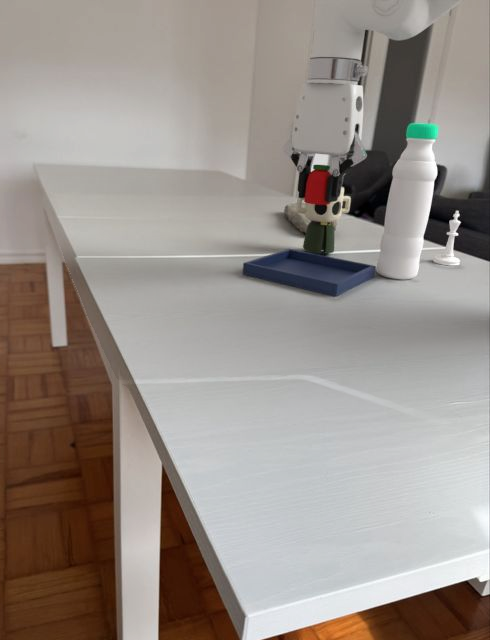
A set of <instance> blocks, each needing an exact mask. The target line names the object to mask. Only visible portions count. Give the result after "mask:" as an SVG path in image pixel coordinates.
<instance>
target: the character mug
mask: <svg viewBox="0 0 490 640" xmlns="http://www.w3.org/2000/svg"><path fill="white" fill-rule="evenodd" d="M304 199H305V198H299V197H298V196H297V199H296V203H297V208H296V210H297V212H299V213H304V214H305V217H306V218H307V219H309V220H311V222H310V223H309V224H308V227H307V231H306V233H305V235H304V239H303V244H302V248H303V250H305V252H308V253H313V254H322V252H323V253H324V254H331V253H334V252H335V231H334V226H333V224H332V222H334V221H339V220H340V218H341V216H342V214H348V213H349V212H350V209H351V202H352V198H351V196H349V195H345V187H344V186H341V193H340V196H339V197H338V199H337V201H334V202H330V204H328V205H317V204H309V203H306V202H304V203H305V208H302V207H301V206H302V203H303V201H304ZM344 202H345V205H344V207H343V203H344Z"/></svg>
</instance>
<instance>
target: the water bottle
mask: <svg viewBox="0 0 490 640" xmlns="http://www.w3.org/2000/svg"><path fill="white" fill-rule="evenodd" d="M438 134H439V126H438V124H435V123H421V122H411V123H409V124H408V125H407V128H406V131H405V137H406V138H405V141H406V142H407V145H406V147H405V148H404V150H403V152H402V153H401V154H400V157H399V158H398V160H397V161H396V163H395V164H394V165H393V168H392V173H391V174H392V180H391V184H390V188H389V192H388V197H387V203H386V209H385V214H384V215H385V216H384V226H383V233H382V235H381V239H380V245H379V247H380V248H379V249H380V250H379V254H378V258H377V262H376V269H375V271H376V272H377V273H378V275H380V276H382V277H384V278H388V279H393V280H401V281H405V280H411V279H414V278H416V277H417V276H418V273H419V268H420V261H421V260H420V259H421V258H420V257H421V254H422V251H423V247H424V236H425V233H426V229H427V226H428V221H429V217H430V212H431V207H432V202H433V195H434V188H435V180H436V179H437V176H438V166H437V162H436V161H435V160H436V157H435V153H434V152H433V145H434V143H435V142H436V139H437V138H438V136H439V135H438Z"/></svg>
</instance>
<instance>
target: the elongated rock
mask: <svg viewBox="0 0 490 640" xmlns="http://www.w3.org/2000/svg"><path fill="white" fill-rule="evenodd" d="M305 203H306V202H302V206H301V207H302V208H305ZM296 208H297V202H294V203H289V204H286V205H285V206H284V209H283V213H284V215H285V216H286V218H287V219H288V222H290V223H291V224H292V225H293V227H295V228H296V229H297V230H299V231H300V233H302V234H306V231H307V227H308V224H309V223H310V222H311V220H309V219H307V218H306V217H305V214H304V213H299V212H297V210H296ZM337 221H338V220H337ZM337 221H334V222H332V224H333V226H334V232H336V229H337V225H338V223H337Z"/></svg>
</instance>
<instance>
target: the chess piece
mask: <svg viewBox="0 0 490 640" xmlns="http://www.w3.org/2000/svg"><path fill="white" fill-rule="evenodd" d="M459 212H460V211H459V210H455V213H453V216H452V217H453V219H450V220H449V231H447V232H446V235H447V236H448V239H447V242H446V245H445V247H444V251H443V252H441V254H440V255H436V256H434V257H433V260H432V261H433V262H434V263H435V264H438V265H442V266H451V267H452V266H453V267H455V266H459V265H460V264H461V263H460V262H461V259H459V258H458V257H456V256H455V254H454V246H455V245H454V243H455V237H458V236H459V233H458V232H457V230H458V228H459V226H460V225H461V223H462V222H461V221H460V220H459V219H458V218H460V213H459Z"/></svg>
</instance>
